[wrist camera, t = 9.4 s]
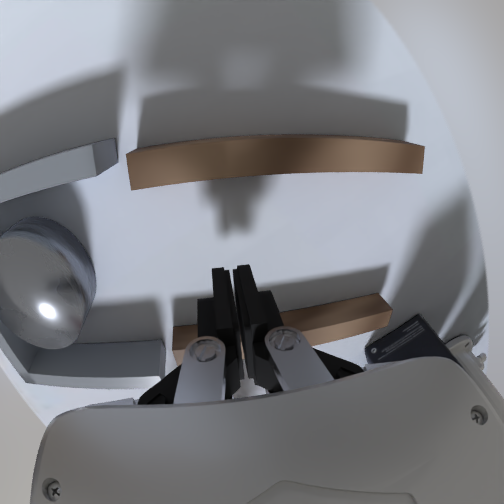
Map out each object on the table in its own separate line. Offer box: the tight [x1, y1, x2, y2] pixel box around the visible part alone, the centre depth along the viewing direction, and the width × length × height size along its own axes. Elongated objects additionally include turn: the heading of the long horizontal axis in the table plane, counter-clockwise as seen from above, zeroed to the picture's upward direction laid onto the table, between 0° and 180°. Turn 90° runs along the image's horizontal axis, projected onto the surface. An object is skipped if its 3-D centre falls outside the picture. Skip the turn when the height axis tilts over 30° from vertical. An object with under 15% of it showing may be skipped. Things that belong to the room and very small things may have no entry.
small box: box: [365, 314, 469, 375], centre depth 19 cm, size 11×6×10 cm, turn 27°
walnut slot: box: [126, 134, 425, 366], centre depth 14 cm, size 14×12×2 cm
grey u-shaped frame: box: [0, 138, 166, 389], centre depth 12 cm, size 11×13×3 cm
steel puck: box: [0, 217, 96, 349], centre depth 12 cm, size 7×7×3 cm
